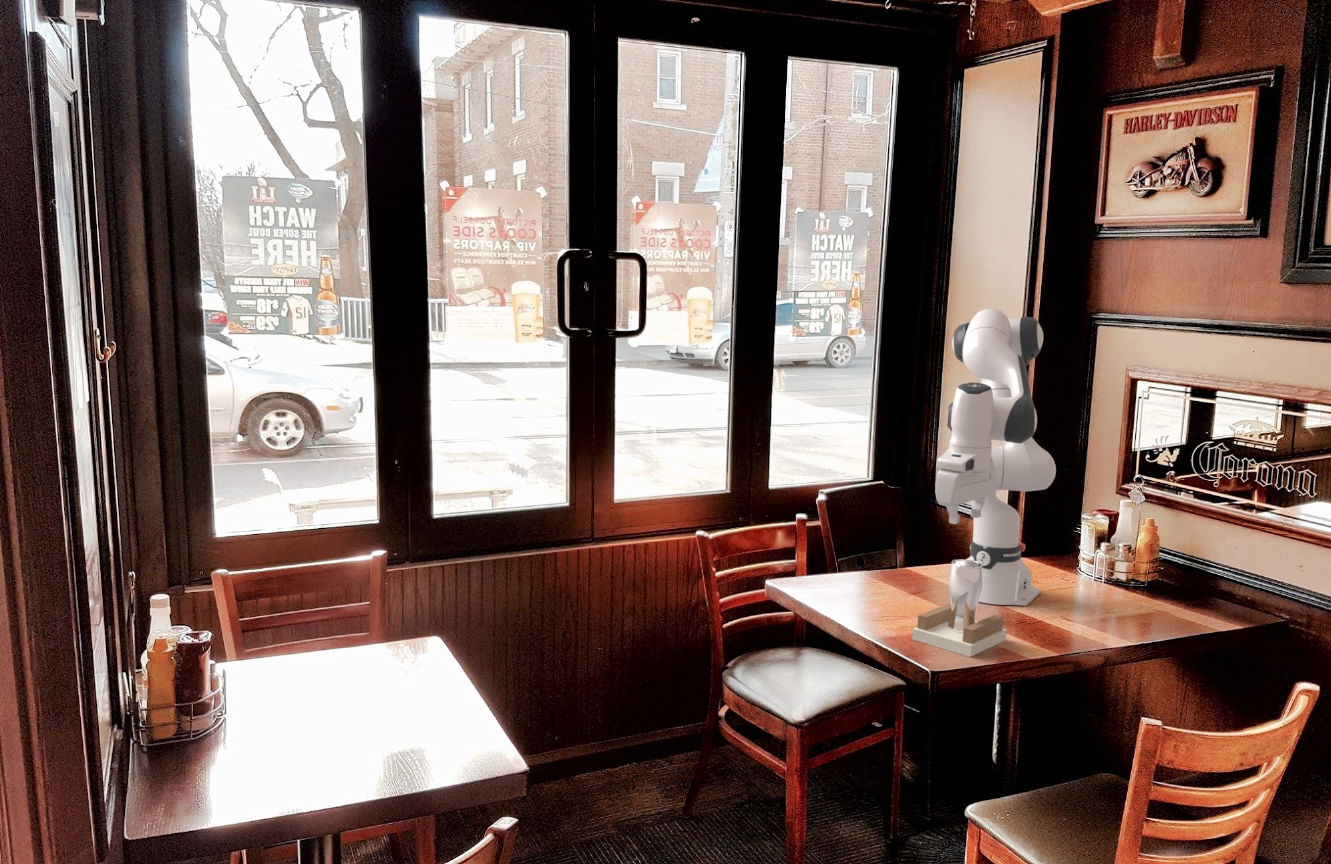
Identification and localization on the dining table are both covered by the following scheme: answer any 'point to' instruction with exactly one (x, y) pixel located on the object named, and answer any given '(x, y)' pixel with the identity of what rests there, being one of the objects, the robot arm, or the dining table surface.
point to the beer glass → (964, 593)
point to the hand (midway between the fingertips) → (965, 520)
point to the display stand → (966, 643)
